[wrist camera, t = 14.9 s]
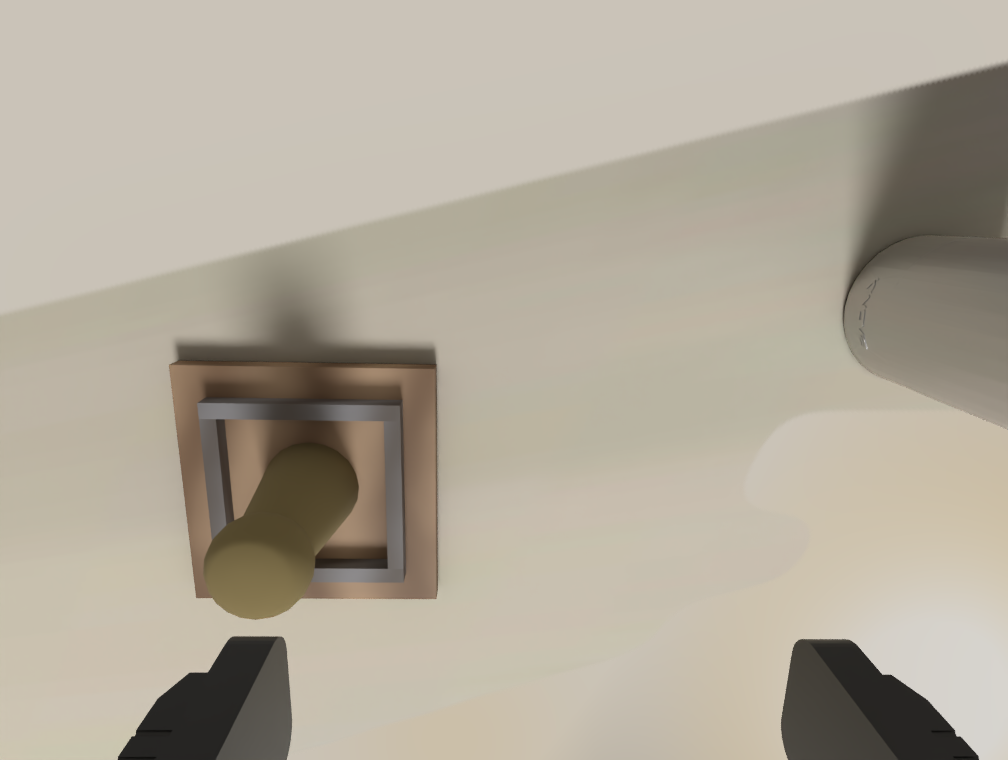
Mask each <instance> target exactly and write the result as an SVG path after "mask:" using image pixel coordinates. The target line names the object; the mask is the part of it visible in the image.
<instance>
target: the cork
mask: <svg viewBox="0 0 1008 760" xmlns="http://www.w3.org/2000/svg"><path fill="white" fill-rule="evenodd" d="M358 492H359V484H358V480H357V475H356V472H355V471H354V469H353V467H352V466H351V464H350V462H349V461H348V460H347V459H346V458H345V457H344V456H342V455H341V454H340V453H339V452H338V451H336V450H334V449H332V448H330V447H328V446H325V445H323V444H316V443H309V442H307V443H301V444H294V445H292V446H290V447H288V448H285V449H283V450H281V451H280V452H279V453H278V454H277V455H276V456H275V457H274V458H273V459H272V460H271V461H270V463H269V465H268V467H267V469H266V471H265V473H264V475H263V477H262V479H261V481H260V483H259V485H258V487H257V489H256V491H255V493H254V495H253V497H252V499H251V501H250V503H249V505H248V507H247V509H246V511H245V513H244V515H243V516H242V517H240V518H238V519H236V520H234V521H232V522H230V523H228V524H227V525H226V526H225V527H224V528H223V529H222V530H221V531H220V532H219V533H218V534H217V535H216V536H215V537H214V539H213V540H212V542H211V544H210V546H209V548H208V550H207V553H206V555H205V558H204V567H203V576H204V579H205V582H206V586H207V589H208V592H209V594H210V595H211V596H212V598H213V599H214V601H215V602H216V603H217V604H218V605H219V606H220V607H222V608H223V609H224V610H225V611H227V612H228V613H231V614H233V615H236V616H238V617H241V618H247V619H255V620H256V619H263V618H270V617H274V616H277V615H279V614H281V613H283V612H285V611H287V610H289V609H290V608H291V607H292V606H293V605H294V604H295V603H296V602H297V601H298V600H299V599H301V598H302V597H303V596H304V594H305V592H306V590H307V588H308V586H309V584H310V582H311V580H312V578H313V576H314V568H315V556H316V555H317V554H318V552H319V551H320V550H321V549H322V547H323V546H324V545H325V544H326V543H327V541H328V540H329V539H330V538H331V536H332V535H333V534H334V533H335V532H336V530H337V529H338V528H339V527H340V526H341V524H342V523H343V522H344V521H345V519H346V518H347V517H348V516H349V515H350V513H351V512H352V510H353V508H354V506H355V504H356V502H357V500H358Z"/></svg>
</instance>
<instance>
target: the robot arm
mask: <svg viewBox="0 0 1008 760" xmlns="http://www.w3.org/2000/svg"><path fill="white" fill-rule="evenodd" d="M844 329H845V335H846V340H847V342H848V345H849V347H850V350H851V352H852V353H853V355H854V356H855V357H856V359H857V360H858V362H859V363H860V364H861V365H862V366H864V367H865V368H866V369H867V370H869V371H870V372H871V373H873V374H876V375H878V376H880V377H882V378H884V379H886V380H889V381H891V382H894V383H896V384H899V385H901V386H904V387H906V388H908V389H911V390H913V391H915V392H917V393H920V394H922V395H925V396H927V397H930V398H932V399H934V400H937V401H939V402H942V403H944V404H947V405H949V406H952V407H954V408H956V409H959V410H961V411H964V412H966V413H969V414H971V415H973V416H976V417H978V418H981V419H983V420H986V421H988V422H991V423H993V424H996V425H998V426H1000V427H1003V428H1005V429H1008V239H1007V238H986V237H964V236H934V235H923V236H917V237H912V238H907V239H905V240H902V241H900V242H897V243H895V244H893V245H891V246H889V247H888V248H886V249H885V250H883V251H882V252H880V253H878V254H877V255H876V256H875V257H874V258H873V259H872V260H871V261H870V262H869V263H868V264H867V265H866V266H865V267H864V269H863V270H862V271H861V273H860V274H859V275H858V277H857V278H856V280H855V282H854V284H853V286H852V288H851V290H850V292H849V295H848V298H847V302H846V306H845V312H844ZM291 731H292V713H291V700H290V687H289V674H288V662H287V649H286V643H285V640H284V638H283V637H231V638H230V639H229V640H228V641H227V643H226V644H225V646H224V647H223V649H222V651H221V652H220V654H219V656H218V657H217V659H216V660H215V662H214V664H213V665H212V667H211V669H210V670H209V672H208V673H189V674H188V675H186V676H185V677H184V678H183V679H181V680H180V681H179V682H178V683H177V684H175V685H174V686H173V687H172V688H170V689H169V690H168V691H167V692H166V693H164V694H163V695H162V696H161V697H159V698H158V699H157V701H156V702H155V704H154V705H153V707H152V708H151V709H150V711H149V712H148V714H147V715H146V717H145V718H144V720H143V721H142V723H141V724H140V726H139V727H138V729H137V730H136V735H135V736H132V737H131V739H130V740H129V742H128V743H127V745H126V746H125V748H124V749H123V750H122V752H121V753H120V755H119V756H118V760H287V756H288V751H289V746H290V740H291ZM781 731H782V738H783V744H784V748H785V752H786V755H787V758H788V760H979V758H978V755H977V754H976V753H975V752H974V751H973V750H972V749H971V748H970V747H969V745H968V744H967V743H966V742H965V741H964V740H963V739H962V738H961V737H957V736H956V734H955V730H954V729H953V728H952V727H951V726H950V724H949V723H948V722H947V721H946V720H945V719H944V718H943V717H942V716H941V715H940V713H939V712H937V710H936V709H935V708H934V707H933V706H932V705H931V704H930V702H929V701H928V700H926V699H925V698H924V697H922V696H921V695H919V694H918V693H916V692H915V691H913V690H912V689H911V688H909V687H908V686H906V685H905V684H904V683H902V682H901V681H899V680H898V679H896V678H895V677H894V676H892V675H882V674H881V673H880V671H879V670H878V669H877V668H876V667H875V666H874V664H873V663H872V662H871V661H870V660H869V659H868V658H867V656H866V655H865V654H864V653H863V652H862V651H861V649H860V648H859V647H858V646H857V645H856V644H855V643H853V642H852V641H850V640H846V639H842V640H840V639H839V640H838V639H819V640H818V639H801V640H798V641H797V642H796V643H795V645H794V647H793V651H792V657H791V663H790V669H789V675H788V681H787V688H786V694H785V700H784V706H783V712H782V719H781Z"/></svg>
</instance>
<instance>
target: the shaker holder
mask: <svg viewBox="0 0 1008 760" xmlns="http://www.w3.org/2000/svg"><path fill="white" fill-rule="evenodd" d="M169 369H170V377H171V386H172V394H173V403H174V412H175V420H176V429H177V437H178V446H179V454H180V463H181V471H182V480H183V488H184V497H185V506H186V514H187V523H188V531H189V540H190V548H191V557H192V565H193V574H194V582H195V591H196V598H212V596H211V595H210V594H209V592H208V589H207V586H206V582H205V579H204V576H203V567H204V558H205V555H206V553H207V550H208V548H209V546H210V544H211V542H212V540H213V539H214V537H215V536H216V535H217V534H218V533H219V532H220V531H221V530H222V529H223V528H224V527H225V526H226V525H227V524H228V523H230V522H232V521H234V520H236V519H238V518H240V517H242V516H243V515H244V513H245V511H246V509H247V507H248V505H249V503H250V501H251V499H252V497H253V495H254V493H255V491H256V489H257V487H258V485H259V483H260V481H261V479H262V477H263V475H264V473H265V471H266V469H267V467H268V465H269V463H270V461H271V460H272V459H273V458H274V457H275V456H276V455H277V454H278V453H279V452H280V451H281V450H283V449H285V448H288V447H290V446H292V445H294V444H301V443H307V442H309V443H316V444H323V445H325V446H328V447H330V448H332V449H334V450H336V451H338V452H339V453H340V454H341V455H342V456H344V457H345V458H346V459H347V460H348V461H349V462H350V464H351V466H352V467H353V469H354V471H355V472H356V475H357V480H358V484H359V492H358V500H357V502H356V504H355V506H354V508H353V510H352V512H351V513H350V515H349V516H348V517H347V518H346V519H345V521H344V522H343V523H342V524H341V526H340V527H339V528H338V529H337V530H336V532H335V533H334V534H333V535H332V536H331V538H330V539H329V540H328V541H327V543H326V544H325V545H324V546H323V547H322V549H321V550H320V551H319V552H318V554H317V555H316V556H315V568H314V576H313V578H312V580H311V582H310V584H309V586H308V588H307V590H306V592H305V594H304V596H303V597H302V598H326V599H436V597H437V590H438V558H437V380H436V365H431V364H366V363H301V362H237V361H177V362H175V363H172V364H170V365H169Z"/></svg>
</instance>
